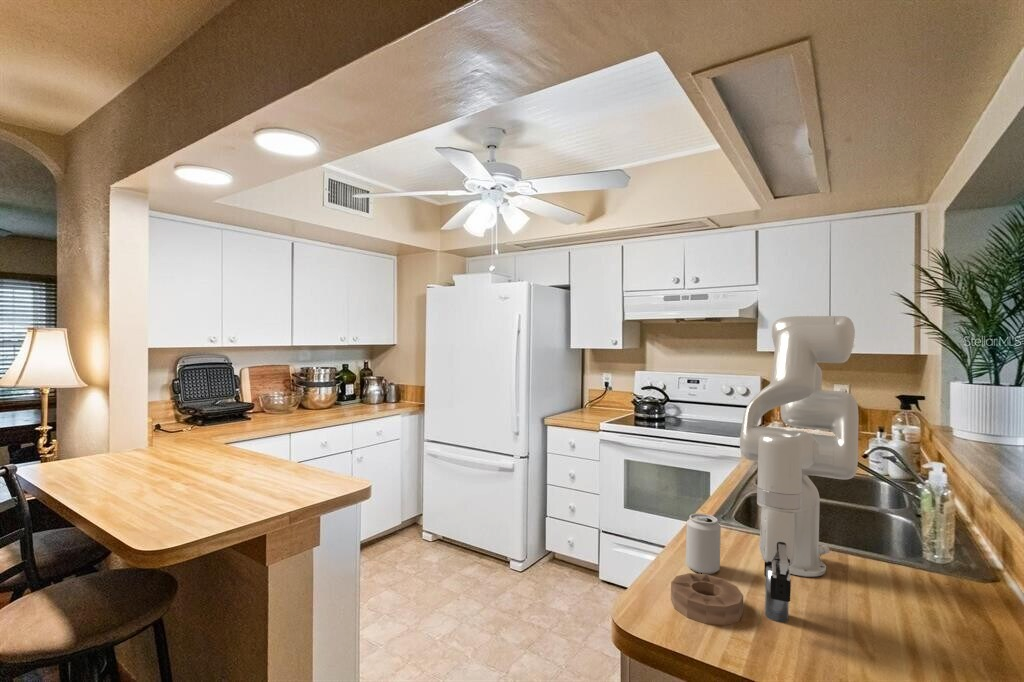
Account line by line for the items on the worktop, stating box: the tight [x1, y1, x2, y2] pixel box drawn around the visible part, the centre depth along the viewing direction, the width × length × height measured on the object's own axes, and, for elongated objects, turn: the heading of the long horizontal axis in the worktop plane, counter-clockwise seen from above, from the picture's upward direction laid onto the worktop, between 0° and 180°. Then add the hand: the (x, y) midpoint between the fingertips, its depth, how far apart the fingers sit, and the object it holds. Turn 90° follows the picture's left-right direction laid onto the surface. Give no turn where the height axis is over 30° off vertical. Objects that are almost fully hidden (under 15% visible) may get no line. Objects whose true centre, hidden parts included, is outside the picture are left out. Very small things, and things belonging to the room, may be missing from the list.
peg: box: [764, 565, 790, 623], centre depth 97 cm, size 4×4×9 cm
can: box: [685, 512, 722, 575], centre depth 117 cm, size 8×8×12 cm
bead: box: [670, 572, 744, 626], centre depth 100 cm, size 13×13×4 cm
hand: (776, 588), depth 96 cm, fingers open, 9 cm apart
